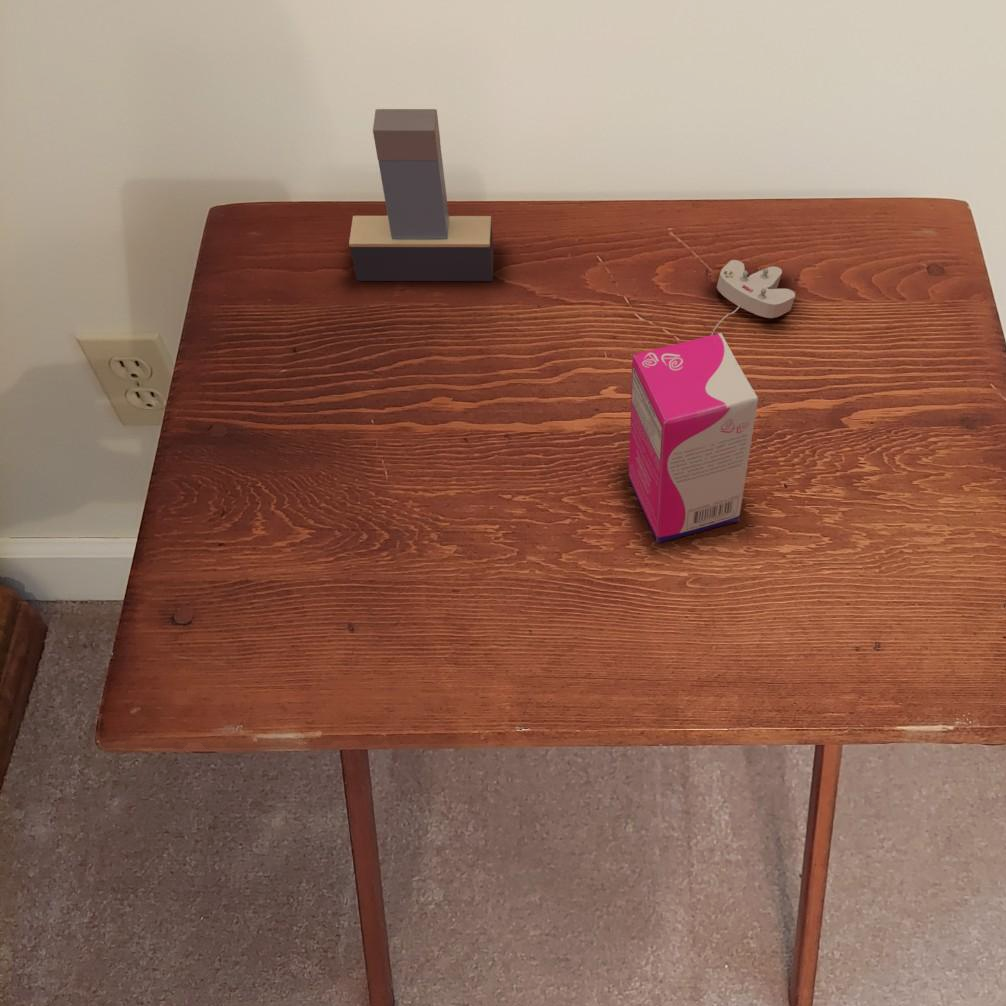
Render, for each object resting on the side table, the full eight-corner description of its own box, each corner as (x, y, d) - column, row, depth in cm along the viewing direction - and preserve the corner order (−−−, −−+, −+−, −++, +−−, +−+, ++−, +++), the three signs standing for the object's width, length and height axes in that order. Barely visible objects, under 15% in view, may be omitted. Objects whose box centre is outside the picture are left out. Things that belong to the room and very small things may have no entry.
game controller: (802, 286, 87) (808, 259, 85) (754, 395, 81) (759, 369, 79) (729, 266, 88) (733, 238, 86) (677, 372, 82) (680, 345, 80)
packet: (391, 239, 84) (372, 129, 76) (393, 218, 85) (375, 108, 77) (448, 239, 84) (434, 129, 76) (449, 218, 85) (436, 108, 78)
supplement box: (707, 454, 78) (724, 328, 69) (740, 522, 75) (764, 401, 66) (624, 475, 77) (630, 350, 68) (655, 545, 74) (666, 425, 65)
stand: (356, 281, 87) (348, 243, 84) (360, 253, 88) (352, 215, 85) (492, 281, 87) (489, 244, 84) (494, 253, 88) (491, 215, 85)
